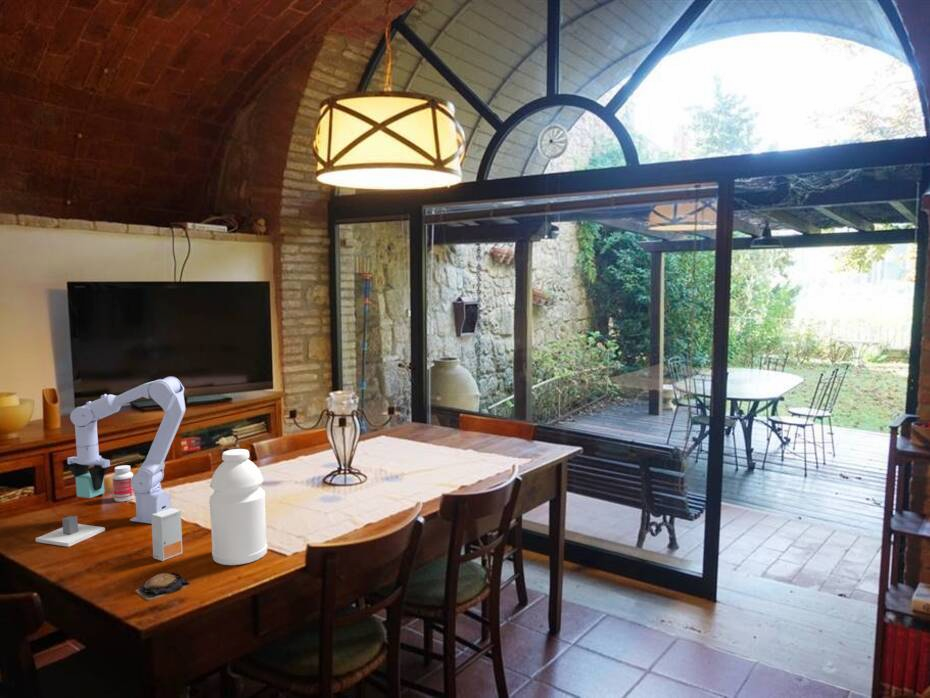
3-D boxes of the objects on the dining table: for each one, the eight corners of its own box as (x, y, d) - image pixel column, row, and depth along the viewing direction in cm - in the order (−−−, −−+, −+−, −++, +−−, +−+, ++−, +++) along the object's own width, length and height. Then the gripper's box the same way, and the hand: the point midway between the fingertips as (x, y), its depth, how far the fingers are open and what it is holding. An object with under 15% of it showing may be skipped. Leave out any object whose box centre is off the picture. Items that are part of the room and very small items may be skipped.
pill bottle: (135, 499, 216) (133, 467, 215) (115, 503, 213) (112, 470, 212) (133, 494, 221) (131, 463, 220) (113, 498, 218) (111, 466, 217)
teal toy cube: (104, 492, 199) (103, 473, 198) (90, 498, 194) (88, 478, 193) (91, 491, 200) (90, 472, 200) (76, 496, 196) (75, 477, 195)
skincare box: (162, 561, 168) (160, 517, 166) (152, 558, 170) (150, 514, 169) (183, 553, 173) (181, 510, 172) (174, 550, 175) (171, 507, 174)
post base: (104, 530, 189) (103, 512, 189) (68, 546, 178) (67, 527, 177) (73, 526, 193) (71, 508, 192) (35, 541, 181) (34, 522, 181)
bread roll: (148, 604, 147) (147, 589, 146) (133, 592, 152) (132, 577, 152) (194, 587, 155) (193, 572, 154) (178, 576, 160) (177, 562, 160)
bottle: (225, 544, 179) (220, 444, 176) (274, 544, 178) (270, 444, 175) (203, 566, 165) (197, 458, 162) (256, 566, 164) (252, 459, 161)
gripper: (117, 443, 197) (119, 486, 199) (80, 440, 202) (83, 482, 203) (97, 448, 190) (100, 493, 192) (60, 445, 195) (63, 489, 196)
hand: (90, 488), depth 197 cm, fingers closed on teal toy cube, 5 cm apart
